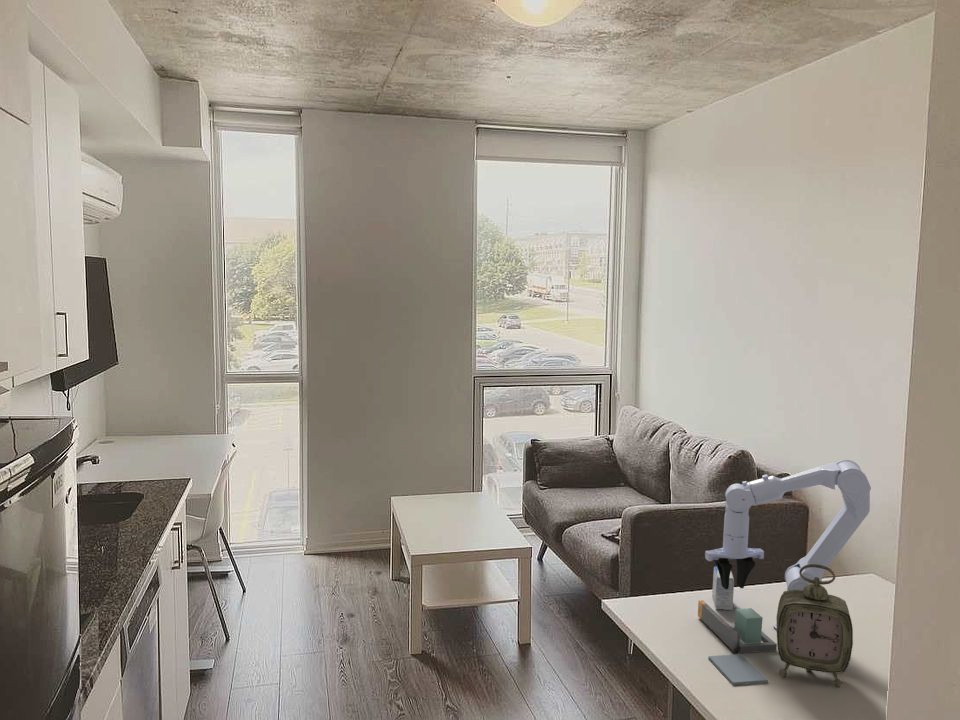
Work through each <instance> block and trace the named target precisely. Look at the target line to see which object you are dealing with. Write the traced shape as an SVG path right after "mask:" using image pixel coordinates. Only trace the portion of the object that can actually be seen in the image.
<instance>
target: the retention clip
mask: <svg viewBox="0 0 960 720" xmlns="http://www.w3.org/2000/svg"><path fill="white" fill-rule="evenodd" d="M697 602H698V604H697V606H698V607H697V617H698V618H699V619H700V620H701V621H702V622H703V623H704V624H705V625H706V626H707V627H708V628H709V629H710V630H711V631H712V632H713V633H715V634H716V635H717V637H718V638H719V639H720V640H721V641H722V642H723V643H724V644H725V645H726V646H727V647H728V648H729V649H730V650H732V654H740V652H739V645H740V632H739V631H735V630H734V629H733V628H732V627H731V626H732V625H730V624H729V623H728V622H727V621H726V620H724V618H723V617H721V616H720V614H718V613H717V612H716V611H715V610H714V609H713V608H712V607H711V606H710V605H708V603H707V602H706V601H704V600H698V601H697Z"/></svg>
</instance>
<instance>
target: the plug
mask: <svg viewBox="0 0 960 720" xmlns="http://www.w3.org/2000/svg"><path fill="white" fill-rule="evenodd" d="M734 617H735V618H734V626H735V628H734V630H735V631H739V632H740V642H741V643H742V644H749V643H764V642H763V641H761V633H762V632H763V629H762V628H763V616H761V615H760V614H759V613H758V612H757V611H755V610H754V609H753V608H752V607H750V608H749V607H748V608H747V607H746V608H735V615H734Z"/></svg>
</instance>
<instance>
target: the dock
mask: <svg viewBox="0 0 960 720" xmlns="http://www.w3.org/2000/svg"><path fill="white" fill-rule="evenodd" d="M730 626H731V627H732V628H733V629H734V628H735V625H730ZM761 641H763V642H764V643H749V644H742V643H741V642H740V645H739V654H743V653H744V654H747V652H748V653H761V652H771V651H772V652H773V651H775V652H777V650H778V646H777V643H776V642H775V641H774V640H773V639H772V638H771V637H769V636H768V635H767V634H766V633H765V632H764V631H762V633H761Z"/></svg>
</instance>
